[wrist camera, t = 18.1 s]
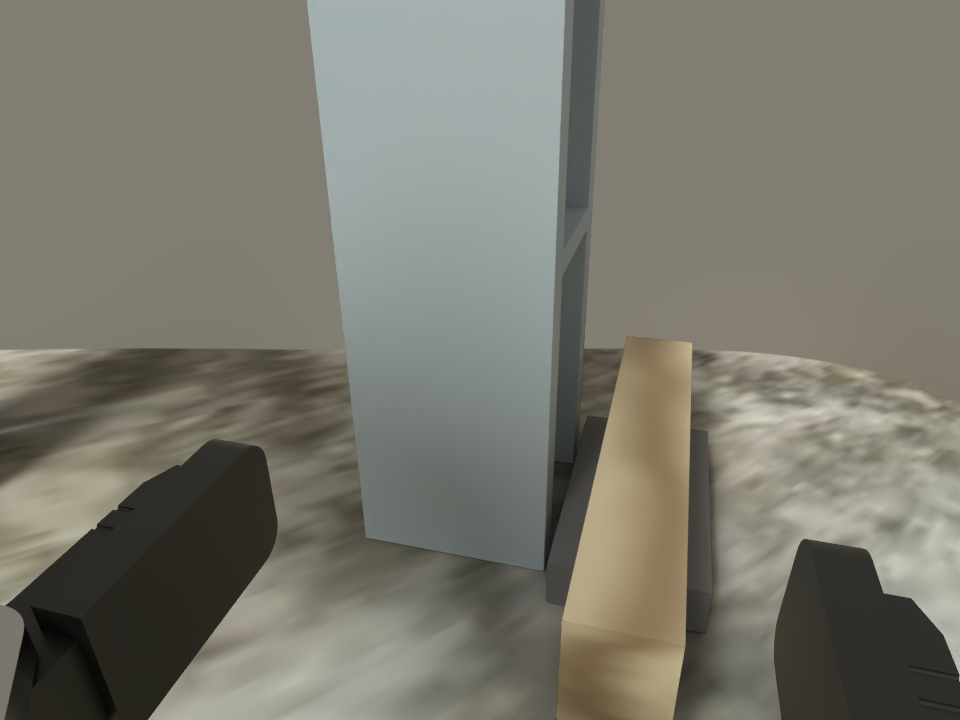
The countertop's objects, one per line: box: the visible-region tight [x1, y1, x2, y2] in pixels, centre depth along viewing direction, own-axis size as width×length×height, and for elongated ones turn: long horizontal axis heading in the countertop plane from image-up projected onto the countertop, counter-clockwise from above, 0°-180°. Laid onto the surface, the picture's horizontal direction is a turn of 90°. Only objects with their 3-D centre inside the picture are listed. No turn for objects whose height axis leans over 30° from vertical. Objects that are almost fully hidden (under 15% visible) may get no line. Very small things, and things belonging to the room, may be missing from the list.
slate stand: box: [307, 0, 605, 571], centre depth 35 cm, size 10×12×32 cm
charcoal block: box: [546, 416, 712, 633], centre depth 38 cm, size 8×14×2 cm, turn 164°
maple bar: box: [556, 336, 692, 720], centre depth 34 cm, size 4×24×5 cm, turn 164°
